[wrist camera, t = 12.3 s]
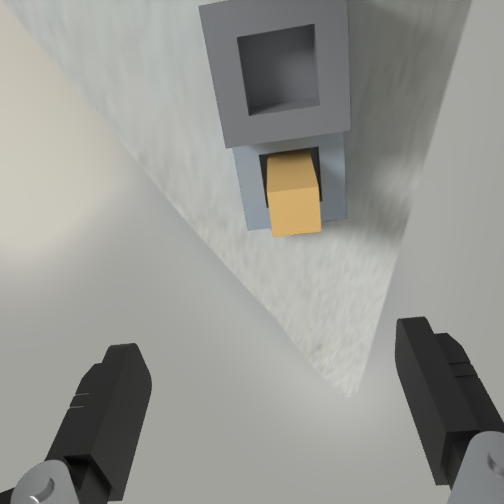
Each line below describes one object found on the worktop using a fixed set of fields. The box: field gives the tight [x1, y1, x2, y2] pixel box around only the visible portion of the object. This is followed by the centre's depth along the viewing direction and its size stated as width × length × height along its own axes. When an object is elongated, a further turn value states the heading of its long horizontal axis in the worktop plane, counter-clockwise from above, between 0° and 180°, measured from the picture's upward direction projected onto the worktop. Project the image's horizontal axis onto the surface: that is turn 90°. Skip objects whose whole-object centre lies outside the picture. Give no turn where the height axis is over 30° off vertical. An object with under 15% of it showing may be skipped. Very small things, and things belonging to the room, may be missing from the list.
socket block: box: [198, 0, 351, 231], centre depth 36 cm, size 20×10×8 cm, turn 9°
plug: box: [267, 148, 321, 237], centre depth 37 cm, size 5×4×10 cm
